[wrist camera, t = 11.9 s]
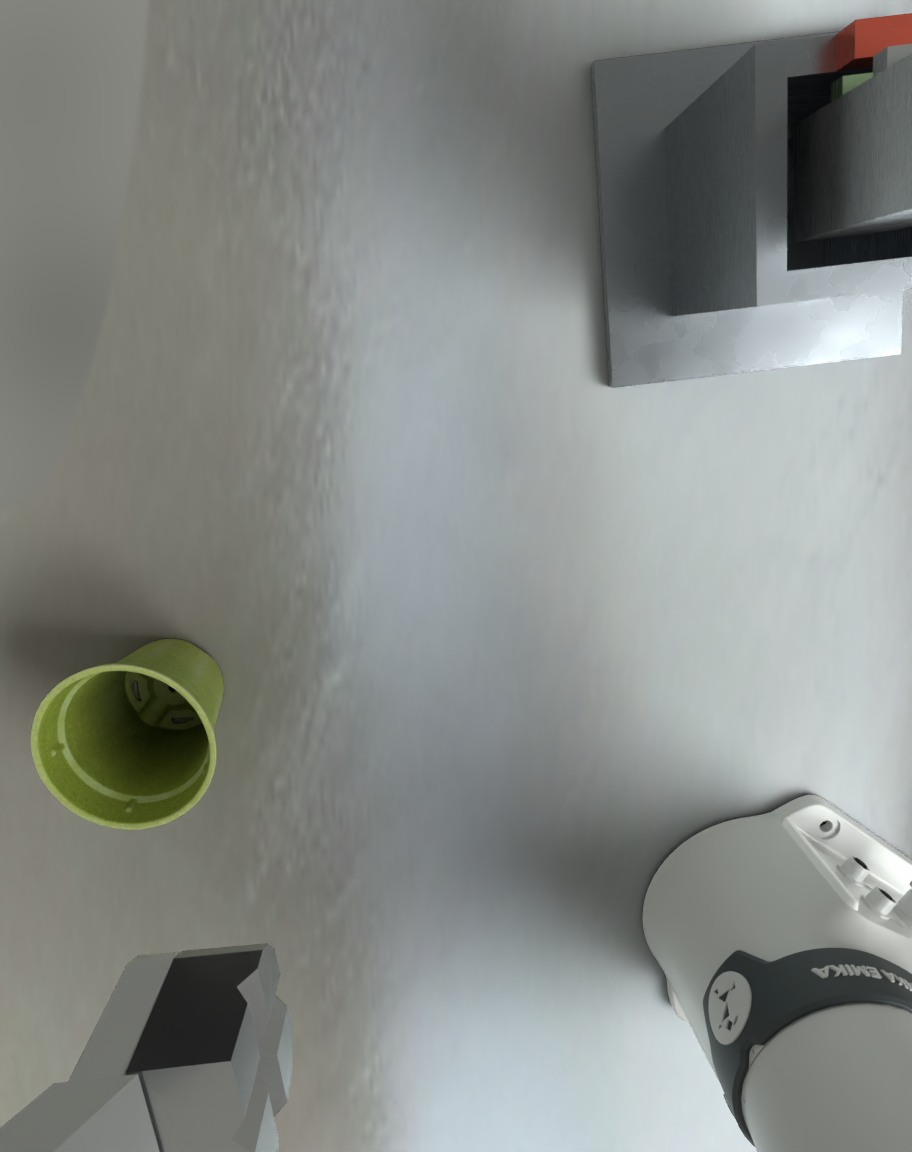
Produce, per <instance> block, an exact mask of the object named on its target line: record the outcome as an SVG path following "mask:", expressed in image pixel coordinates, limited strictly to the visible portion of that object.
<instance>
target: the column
mask: <svg viewBox="0 0 912 1152" xmlns="http://www.w3.org/2000/svg"><path fill="white" fill-rule="evenodd" d="M911 226H912V44H905V45H897V46H888V47H886V48H885V49H883V50H882V51H880V52H879V53H877V54H876V55H874V56H873V72H872V73H864V74H855V75H847V76H842V77H840V78H839V79H837V80H836V81H834V82H833V83H831V103H829V104H827V105H826V106H824V107H822V108H821V109H819V110H817V111H816V112H814V113H813V114H811V115H809V116H808V117H806V118H804V119H803V120H801V121H799V122H798V123H796V124H794V125H793V126H791V243H793V242H801V241H810V240H818V239H827V238H836V237H844V236H853V235H861V234H870V233H878V232H887V231H895V230H899V229H903V228H907V227H911Z"/></svg>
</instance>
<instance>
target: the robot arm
mask: <svg viewBox="0 0 912 1152" xmlns="http://www.w3.org/2000/svg"><path fill="white" fill-rule="evenodd" d="M824 821H827V822H826V824H824V825H822V826H820V824H821V823H822V822H824ZM643 929H644V934H645V938H646V941H647V943H648V946H649V948H650V950H651V952H652V954H653V955H654V957H655V958H656V960H657V961H658V963H659V964H660V966H661V968H662V969H663V971H664V973H665V975H666V977H667V988H668V996H669V1000H670V1003H671V1005H672V1007H673V1009H674V1011H675V1013H676V1014H677V1016H678V1017H679V1018H681V1019H683V1020H685V1021H688V1022H689V1024H690V1026H691V1027H692V1029H693V1031H694V1033H695V1035H696V1037H697V1039H698V1041H699V1043H700V1045H701V1047H702V1049H703V1051H704V1053H705V1055H706V1057H707V1059H708V1061H709V1063H710V1065H711V1067H712V1068H713V1070H714V1072H715V1074H716V1076H717V1078H718V1080H719V1081H720V1083H721V1086H722V1088H723V1091H724V1093H725V1094H724V1095H723V1096H724V1098H725V1100H726V1103H727V1105H728V1107H729V1109H730V1111H731V1113H732V1114H733V1116H734V1117H735V1119H736V1121H737V1123H738V1125H739V1127H740V1129H741V1131H742V1132H743V1134H744V1135H745V1137H746V1138H747V1139H748V1140H749V1141H750V1143H751V1144H752V1145H753V1146H755V1147H756V1150H757V1152H912V860H911V859H909V858H908V857H906V856H905V855H903V854H902V853H901V852H899V851H898V850H896V849H895V848H893V847H892V846H890V845H889V844H888V843H886V842H885V841H883V840H882V839H880V838H879V837H877V836H876V835H875V834H873V833H872V832H870V831H869V830H867V829H866V828H864V827H863V826H862V825H860V824H859V823H857V822H856V821H854V820H853V819H851V818H850V817H849V816H847V815H846V814H844V813H843V812H841V811H840V810H838V809H837V808H836V807H834V806H833V805H831V804H830V803H828V802H827V801H825V800H824V799H822V798H821V797H819V796H816V795H805V796H802V797H799V798H796V799H794V800H792V801H790V802H788V803H786V804H784V805H782V806H781V807H779V808H777V809H775V810H774V811H772V812H769V813H766V814H762V815H757V816H751V817H744V818H738V819H734V820H729V821H726V822H723V823H720V824H717V825H714V826H712V827H709V828H707V829H705V830H703V831H701V832H699V833H697V834H696V835H694V836H692V837H691V838H689V839H688V840H686V841H685V842H684V843H682V844H681V845H680V846H679V847H678V848H676V849H675V850H674V851H673V852H672V853H671V854H670V855H669V856H668V857H667V858H666V860H665V861H664V862H663V863H662V865H661V866H660V867H659V869H658V870H657V872H656V873H655V875H654V877H653V879H652V881H651V883H650V885H649V887H648V890H647V893H646V896H645V900H644V905H643ZM279 977H280V969H279V965H278V961H277V957H276V953H275V949H274V948H273V947H272V946H271V945H270V944H269V943H266V944H254V945H243V946H232V947H221V948H209V949H198V950H187V951H182V952H172V953H161V954H151V955H141V956H137V957H135V958H134V959H133V960H132V961H130V962H129V963H128V964H127V966H126V967H125V969H124V971H123V973H122V975H121V977H120V979H119V981H118V983H117V985H116V987H115V989H114V991H113V993H112V995H111V997H110V999H109V1001H108V1003H107V1005H106V1007H105V1009H104V1011H103V1013H102V1015H101V1017H100V1019H99V1021H98V1023H97V1025H96V1027H95V1029H94V1031H93V1033H92V1035H91V1037H90V1039H89V1041H88V1043H87V1045H86V1047H85V1049H84V1051H83V1053H82V1055H81V1057H80V1059H79V1061H78V1063H77V1065H76V1067H75V1069H74V1071H73V1073H72V1075H71V1077H70V1079H69V1081H68V1082H62V1083H54V1084H53V1085H51V1086H50V1087H49V1088H48V1089H47V1090H45V1091H44V1092H43V1093H42V1094H41V1095H39V1096H38V1097H37V1098H36V1099H35V1100H33V1101H32V1102H31V1103H30V1104H29V1105H27V1106H26V1107H25V1108H24V1109H23V1110H21V1111H20V1112H19V1113H18V1114H17V1115H15V1116H14V1117H13V1118H12V1119H11V1120H9V1121H8V1122H7V1123H6V1124H5V1125H3V1126H2V1127H1V1128H0V1152H277V1151H278V1146H279V1139H278V1134H277V1129H276V1125H275V1120H274V1117H275V1115H276V1114H277V1113H278V1112H279V1111H280V1110H281V1109H282V1107H283V1106H284V1105H285V1104H286V1103H287V1100H288V1094H289V1089H290V1083H291V1077H292V1058H293V1041H292V1029H291V1021H290V1016H289V1011H288V1006H287V1005H286V1004H285V1003H284V1002H283V1001H281V1000H280V999H279V998H278V997H277V996H276V995H275V994H276V990H277V986H278V981H279Z"/></svg>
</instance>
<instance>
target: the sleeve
mask: <svg viewBox="0 0 912 1152" xmlns="http://www.w3.org/2000/svg"><path fill="white" fill-rule="evenodd" d="M905 44H912V13H910V14H902V15H893V16H885V17H876V18H868V19H859V20H855V21H853V22H852V23H851V24H850V25H848V26H847V27H846V28H844V29H843V30H842V31H840V32H833V33H824V34H816V35H807V36H799V37H790V38H782V39H773V40H765V41H757V42H748V43H740V44H731V45H723V46H714V47H706V48H697V49H689V50H681V51H672V52H664V53H655V54H647V55H638V56H630V57H622V58H613V59H605V60H596V61H594V62H593V64H592V66H591V83H592V100H593V118H594V135H595V152H596V170H597V187H598V204H599V222H600V239H601V256H602V274H603V291H604V308H605V325H606V343H607V360H608V377H609V387H612V388H615V387H623V386H632V385H640V384H649V383H658V382H666V381H675V380H683V379H692V378H701V377H709V376H718V375H726V374H735V373H744V372H752V371H761V370H769V369H778V368H787V367H795V366H804V365H812V364H821V363H829V362H838V361H847V360H855V359H864V358H872V357H881V356H890V355H898V354H901V336H902V311H903V289H912V226H911V227H907V228H903V229H899V230H895V231H887V232H878V233H870V234H861V235H853V236H844V237H836V238H827V239H818V240H810V241H801V242H793V243H791V126H793V125H794V124H796V123H798V122H799V121H801V120H803V119H804V118H806V117H808V116H809V115H811V114H813V113H814V112H816V111H817V110H819V109H821V108H822V107H824V106H826V105H827V104H829V103H831V83H833V82H834V81H836V80H837V79H839V78H840V77H842V76H847V75H855V74H864V73H872V72H873V56H874V55H876V54H877V53H879V52H880V51H882V50H883V49H885V48H886V47H888V46H897V45H905Z"/></svg>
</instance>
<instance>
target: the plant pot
mask: <svg viewBox="0 0 912 1152" xmlns="http://www.w3.org/2000/svg"><path fill="white" fill-rule="evenodd" d="M134 681H137V682H138V691H139V695H140V697H141V701H139V700H137V699H136V697H135V695H134V691H133V687H132V684H133V682H134ZM169 686H171V687H172V688H174V689H175V690H176V691H170V689H169ZM223 695H224V681H223V677H222V674H221V671H220V669H219V667H218V665H217V664H216V662H215V661H214V659H213V658H212V657H211V656H209V655H208V654H206V653H205V652H203V651H202V650H200V649H199V648H197V647H196V646H194V645H193V644H192V643H189V642H187V641H183V640H178V639H162V640H157V641H154V642H151V643H149V644H147V645H145V646H143V647H141V648H139V649H137V650H136V651H134V652H133V653H131V654H129V655H128V656H126V657H124V658H123V659H121V660H119V661H117V662H116V663H109V664H102V665H97V666H93V667H90V668H87V669H84V670H81V671H79V672H77V673H74V674H73V675H71V676H69V677H67V678H66V679H64V680H63V681H61V682H60V683H59V684H58V685H56V686H55V687H54V688H53V689H52V690H51V691H50V692H49V693H48V694H47V696H46V697H45V698H44V699H43V701H42V702H41V704H40V706H39V707H38V709H37V711H36V714H35V716H34V719H33V723H32V728H31V739H30V743H31V753H32V757H33V760H34V764H35V767H36V770H37V772H38V774H39V776H40V778H41V780H42V781H43V783H44V784H45V786H46V787H47V788H48V790H49V791H50V792H51V793H52V794H53V795H54V797H55V798H56V799H57V800H58V801H59V802H60V803H62V804H63V805H64V806H65V807H67V808H68V809H69V810H70V811H72V812H74V813H75V814H77V815H78V816H80V817H82V818H84V819H86V820H89V821H91V822H94V823H96V824H99V825H102V826H106V827H110V828H116V829H127V830H139V829H146V828H151V827H156V826H160V825H163V824H166V823H168V822H170V821H172V820H174V819H176V818H178V817H180V816H181V815H183V814H185V813H186V812H187V811H189V810H190V809H191V808H192V807H193V806H194V805H195V804H196V803H197V802H198V801H199V800H200V799H201V797H202V796H203V795H204V793H205V792H206V790H207V788H208V786H209V784H210V782H211V780H212V777H213V774H214V771H215V767H216V760H217V745H216V738H215V734H214V729H215V725H216V722H217V718H218V715H219V711H220V707H221V704H222V700H223ZM186 717H188V718H189V717H193V718H192V720H190V721H188V722H185V723H174V722H172V721H171V719H172V718H186Z"/></svg>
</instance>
